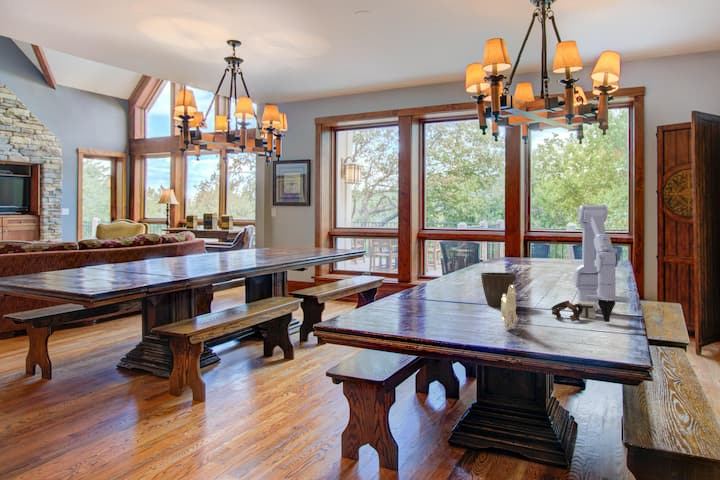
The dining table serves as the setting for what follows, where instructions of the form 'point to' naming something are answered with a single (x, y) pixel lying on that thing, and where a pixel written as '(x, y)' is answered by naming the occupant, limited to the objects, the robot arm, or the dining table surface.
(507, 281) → the plant pot
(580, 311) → the brown curved wooden piece
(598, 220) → the robot arm
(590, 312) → the letter cube
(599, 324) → the dining table surface
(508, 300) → the unicorn
